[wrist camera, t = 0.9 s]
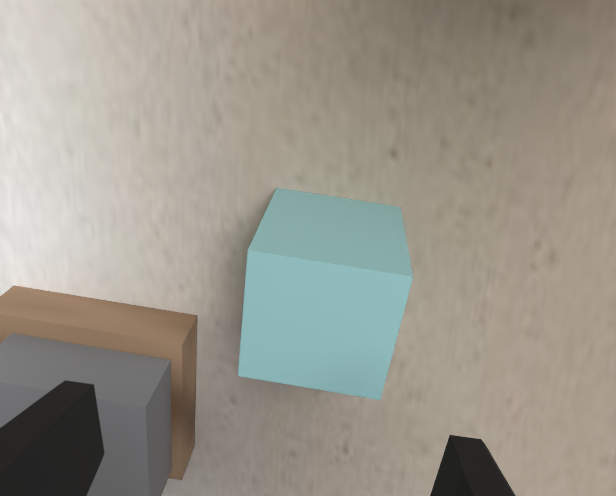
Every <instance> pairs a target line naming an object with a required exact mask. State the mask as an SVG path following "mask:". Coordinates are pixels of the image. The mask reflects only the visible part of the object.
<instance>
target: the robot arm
mask: <svg viewBox="0 0 616 496" xmlns="http://www.w3.org/2000/svg"><path fill="white" fill-rule="evenodd" d="M104 454H105V452H104V446H103V440H102V433H101V427H100V420H99V414H98V408H97V401H96V395H95V388H94V384H88V383H81V382H74V381H67V380H65V381H63V382H62V383H61V384H59V385H58V386H56V387H55V388H54V389H52V390H51V391H49V392H48V393H47V394H45V395H44V396H43V397H41V398H40V399H39V400H37V401H36V402H35V403H33V404H32V405H30V406H29V407H28V408H26V409H25V410H24V411H22V412H21V413H20V414H18V415H17V416H16V417H14V418H13V419H12V420H10V421H9V422H8V423H6V424H5V425H4V426H2V427H1V428H0V496H87V493H88V491H89V489H90V487H91V485H92V482H93V480H94V478H95V475H96V473H97V471H98V468H99V466H100V463H101V461H102V459H103V456H104ZM430 496H515V494H514V492H513V491H512V489H511V487H510V486H509V484H508V482H507V481H506V479H505V477H504V476H503V474H502V472H501V471H500V469H499V467H498V465H497V464H496V462H495V460H494V459H493V457H492V455H491V453H490V452H489V450H488V448H487V447H486V445H485V444H484V442H483V441H482V440H481V439H475V438H468V437H461V436H454V435H450V436H449V439H448V443H447V446H446V449H445V452H444V455H443V458H442V461H441V464H440V467H439V471H438V474H437V477H436V480H435V483H434V486H433V489H432V492H431V495H430Z"/></svg>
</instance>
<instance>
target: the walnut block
mask: <svg viewBox="0 0 616 496" xmlns="http://www.w3.org/2000/svg"><path fill="white" fill-rule="evenodd" d="M11 333H15V334H21V335H27V336H33V337H38V338H44V339H50V340H56V341H62V342H68V343H74V344H80V345H85V346H91V347H97V348H103V349H109V350H115V351H121V352H126V353H132V354H138V355H144V356H150V357H156V358H162V359H167V360H171V472H170V475H169V477H168V478H173V479H179V480H182V478H183V475H184V472H185V470H186V467H187V465H188V462H189V459H190V457H191V454H192V451H193V449H194V442H195V400H196V357H197V315H191V314H185V313H179V312H173V311H167V310H160V309H154V308H148V307H142V306H136V305H130V304H124V303H118V302H112V301H105V300H99V299H93V298H87V297H81V296H75V295H69V294H63V293H57V292H50V291H44V290H38V289H32V288H26V287H20V286H13V287H12V288H10V289H9V290H8V291H7V292H5V293H4V294H3V295H2V296H1V297H0V343H1V342H3V341H4V340H5V339H6V338H7V337H8V336H9V335H10V334H11Z"/></svg>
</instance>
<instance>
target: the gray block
mask: <svg viewBox="0 0 616 496" xmlns="http://www.w3.org/2000/svg"><path fill="white" fill-rule="evenodd" d="M65 380H67V381H74V382H81V383H88V384H94V388H95V395H96V401H97V408H98V414H99V420H100V427H101V433H102V440H103V446H104V452H105V454H104V456H103V459H102V461H101V463H100V466H99V468H98V471H97V473H96V475H95V478H94V480H93V482H92V485H91V487H90V489H89V491H88V493H87V496H161V494H162V492H163V489H164V487H165V485H166V482H167V480H168V477H169V475H170V472H171V360H167V359H162V358H156V357H150V356H144V355H138V354H132V353H126V352H121V351H115V350H109V349H103V348H97V347H91V346H85V345H80V344H74V343H68V342H62V341H56V340H50V339H44V338H38V337H33V336H27V335H21V334H15V333H11V334H10V335H9V336H8V337H7V338H6V339H5V340H4V341H3V342H1V343H0V428H1V427H2V426H4V425H5V424H6V423H8V422H9V421H10V420H12V419H13V418H14V417H16V416H17V415H18V414H20V413H21V412H22V411H24V410H25V409H26V408H28V407H29V406H30V405H32V404H33V403H35V402H36V401H37V400H39V399H40V398H41V397H43V396H44V395H45V394H47V393H48V392H49V391H51V390H52V389H54V388H55V387H56V386H58V385H59V384H61V383H62V382H63V381H65Z"/></svg>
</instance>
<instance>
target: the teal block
mask: <svg viewBox="0 0 616 496" xmlns="http://www.w3.org/2000/svg"><path fill="white" fill-rule="evenodd" d="M412 279H413V274H412V268H411V263H410V257H409V252H408V246H407V241H406V235H405V230H404V224H403V219H402V213H401V208H400V207H396V206H390V205H383V204H377V203H371V202H364V201H358V200H351V199H345V198H339V197H332V196H326V195H319V194H313V193H307V192H300V191H294V190H287V189H281V188H276V190H275V192H274V195H273V197H272V199H271V201H270V203H269V205H268V208H267V210H266V212H265V214H264V216H263V218H262V220H261V223H260V225H259V227H258V229H257V231H256V233H255V236H254V238H253V240H252V242H251V244H250V246H249V248H248V253H247V266H246V278H245V291H244V304H243V317H242V329H241V342H240V355H239V368H238V376H241V377H247V378H253V379H259V380H265V381H271V382H277V383H283V384H288V385H294V386H300V387H306V388H312V389H318V390H324V391H330V392H335V393H341V394H347V395H353V396H359V397H365V398H371V399H377V400H380V399H381V395H382V392H383V388H384V384H385V380H386V377H387V373H388V369H389V365H390V362H391V358H392V354H393V350H394V347H395V343H396V339H397V335H398V332H399V328H400V324H401V320H402V317H403V313H404V309H405V305H406V302H407V298H408V294H409V290H410V287H411V283H412Z"/></svg>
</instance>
